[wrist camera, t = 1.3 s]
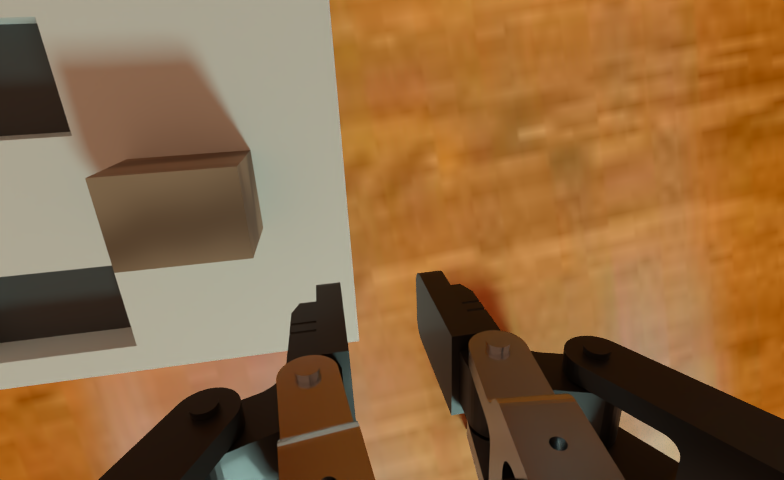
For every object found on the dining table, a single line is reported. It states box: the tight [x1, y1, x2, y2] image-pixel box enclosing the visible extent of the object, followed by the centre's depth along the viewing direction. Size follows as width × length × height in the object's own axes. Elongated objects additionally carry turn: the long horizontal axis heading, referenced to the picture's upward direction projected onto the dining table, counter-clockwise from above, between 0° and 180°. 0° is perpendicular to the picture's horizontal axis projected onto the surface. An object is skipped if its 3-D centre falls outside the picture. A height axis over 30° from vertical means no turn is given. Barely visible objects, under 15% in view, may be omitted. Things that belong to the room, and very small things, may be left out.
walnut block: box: [85, 150, 263, 273], centre depth 24 cm, size 5×7×5 cm
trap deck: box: [0, 0, 359, 390], centre depth 25 cm, size 24×38×6 cm, turn 93°
